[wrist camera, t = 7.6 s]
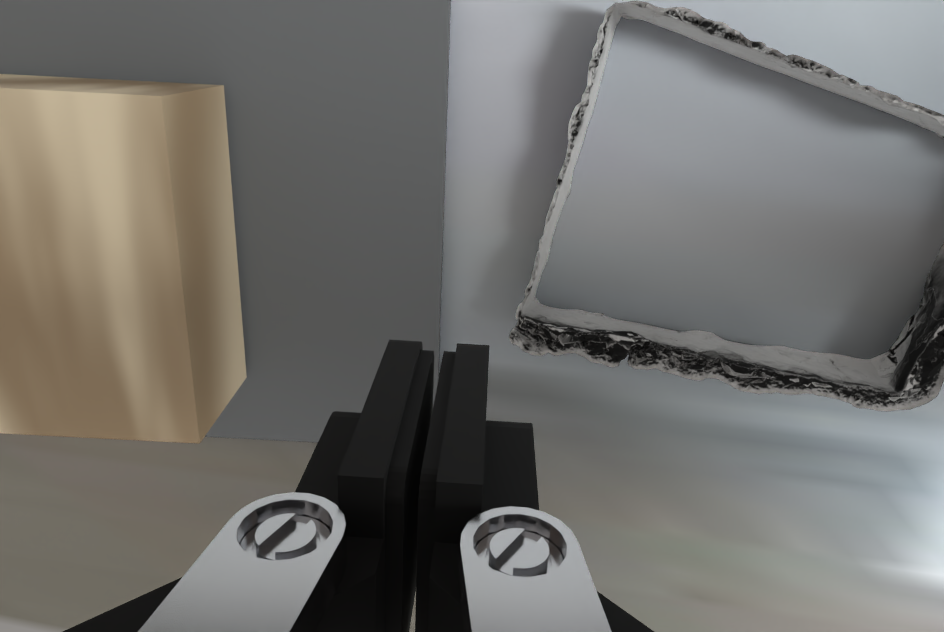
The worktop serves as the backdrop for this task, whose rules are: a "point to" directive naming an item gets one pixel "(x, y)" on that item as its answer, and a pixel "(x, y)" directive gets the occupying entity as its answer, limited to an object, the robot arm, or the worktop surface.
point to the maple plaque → (116, 259)
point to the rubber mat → (295, 172)
